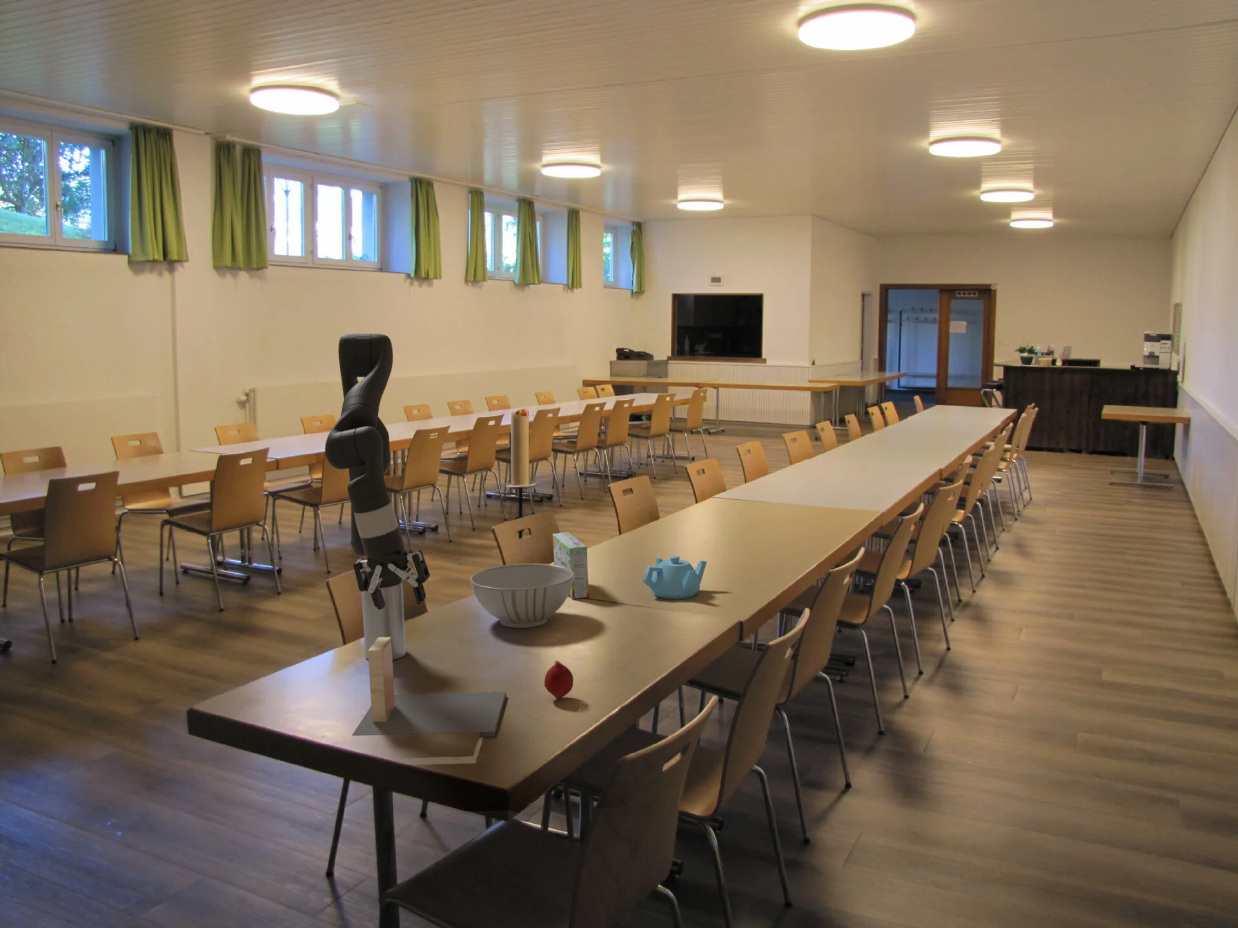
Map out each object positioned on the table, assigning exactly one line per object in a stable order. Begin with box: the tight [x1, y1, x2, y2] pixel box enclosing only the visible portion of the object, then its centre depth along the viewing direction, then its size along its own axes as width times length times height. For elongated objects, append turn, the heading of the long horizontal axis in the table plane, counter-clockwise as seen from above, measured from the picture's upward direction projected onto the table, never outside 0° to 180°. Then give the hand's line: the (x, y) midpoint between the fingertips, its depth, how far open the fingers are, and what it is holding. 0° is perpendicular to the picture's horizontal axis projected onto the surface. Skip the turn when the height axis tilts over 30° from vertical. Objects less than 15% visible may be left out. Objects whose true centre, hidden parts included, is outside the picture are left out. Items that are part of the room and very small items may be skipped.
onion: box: [543, 659, 574, 700], centre depth 192 cm, size 6×6×8 cm
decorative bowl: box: [469, 563, 575, 629], centre depth 247 cm, size 27×27×12 cm
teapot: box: [642, 555, 708, 600], centre depth 270 cm, size 15×15×11 cm
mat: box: [351, 691, 507, 738], centre depth 185 cm, size 20×26×1 cm
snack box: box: [552, 531, 590, 601], centre depth 276 cm, size 21×6×15 cm, turn 17°
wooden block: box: [368, 637, 395, 722], centre depth 184 cm, size 8×3×14 cm, turn 1°
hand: (401, 605), depth 188 cm, fingers open, 8 cm apart
